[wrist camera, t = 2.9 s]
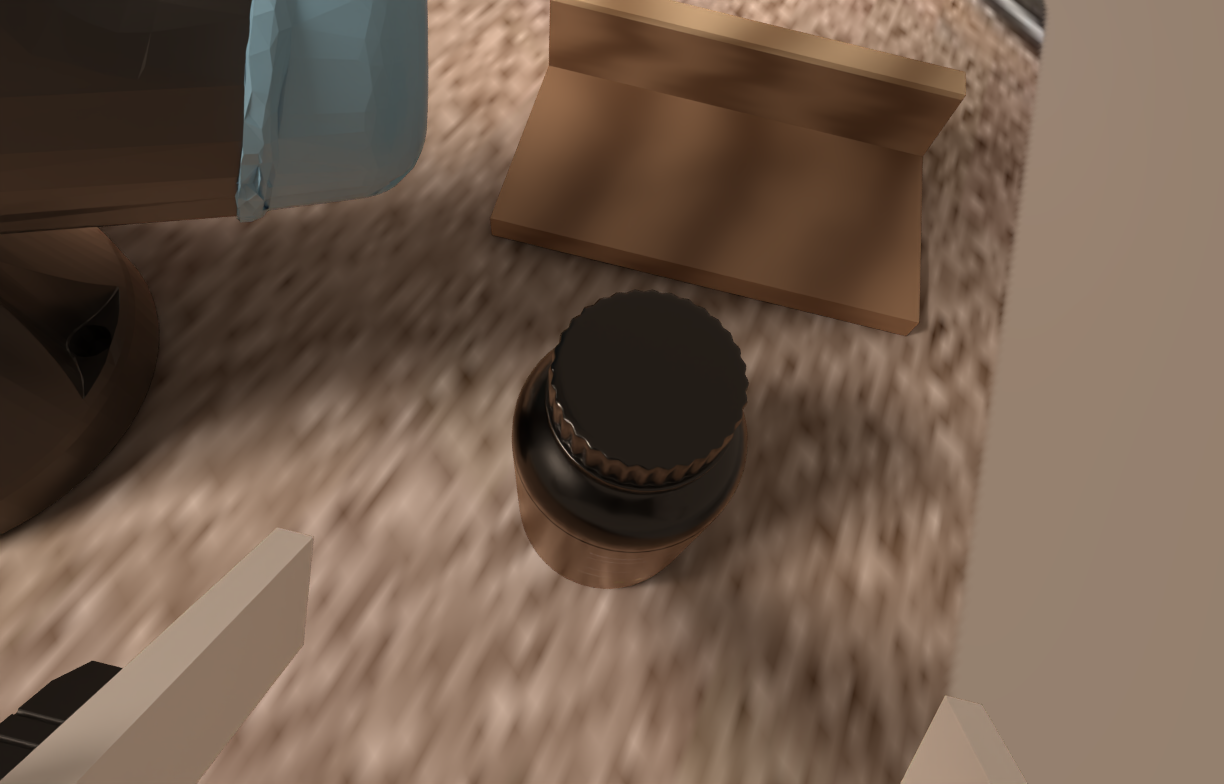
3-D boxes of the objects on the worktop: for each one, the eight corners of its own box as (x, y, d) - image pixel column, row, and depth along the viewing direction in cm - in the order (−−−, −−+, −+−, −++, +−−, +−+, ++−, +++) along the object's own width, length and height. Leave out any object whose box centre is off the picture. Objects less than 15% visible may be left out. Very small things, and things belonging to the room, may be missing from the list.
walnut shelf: (491, 234, 31) (484, 154, 27) (556, 64, 37) (558, -27, 32) (905, 336, 31) (969, 272, 27) (911, 151, 37) (965, 72, 32)
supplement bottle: (500, 447, 27) (476, 276, 16) (658, 408, 29) (732, 228, 18) (543, 618, 25) (548, 549, 14) (714, 565, 26) (841, 467, 15)
